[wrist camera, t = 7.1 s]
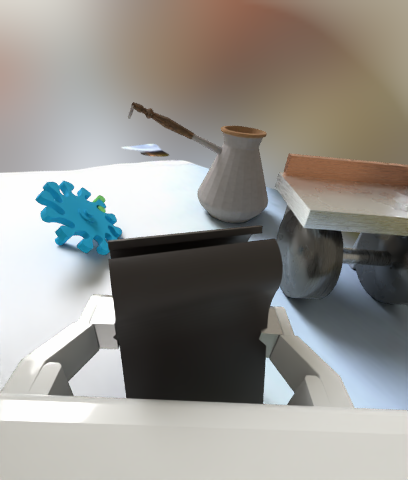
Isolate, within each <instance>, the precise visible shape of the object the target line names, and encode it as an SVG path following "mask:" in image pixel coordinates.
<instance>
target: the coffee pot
mask: <svg viewBox="0 0 408 480" xmlns="http://www.w3.org/2000/svg"><path fill="white" fill-rule="evenodd" d="M133 109H135V110H137V111H138V112H142V113H144V114H145V115H146V117H147V118H153V119H154V120H155V121H157V122H158V123H159V124H161V125H162V126H164V127H165V128H167V129H170V130H172V131H174V132H176V133H178V134H181V135H183V136H185V137H187V138H189V139H193V140H194V141H196V142H198V143H200V144H201V145H203V146H205V147H207V148H208V149H210V150H212V151H214V152H216V153H218V155H217V157H216V159H215V160H214V162H213V164H212V166H211V168H210V169H209V171H208V173H207V175H206V177H205V178H204V180H203V182H202V184H201V186H200V188H199V189H198V199H199V201H200V203H201V205H202V206H203V207H204V209H206V210H207V211H208V213H209V214H210V215H211V216H212V217H214V218H216V219H218V220H221V221H225V222H231V223H242V222H246V221H248V220H250V219H251V218H253V217H256V216H257V215H259V214H261V212H262V211H263V210H264V209H265V208H266V207H267V204H268V197H267V192H266V186H265V181H264V175H263V169H262V164H261V158H260V153H259V145H260V143H261V140H262V138H263V137H265V136H266V132H264V131H262V130H258V129H254V128H248V127H242V126H223V127H221V131H222V132H223V136H224V144H223V146H222V148H221V147H219V146H216V145H215V144H213V143H211V142H209V141H207V140H205V139H203V138H201V137H199V136H197V135H195V134H194V133H192V132H191V131H189V130H188V129H186V128H184V127H183V126H181V125H179V124H178V123H176V122H174V121H173V120H171V119H169V118H168V117H164V116H162V115H159V114H157V113H154V112H153V110H152V109H151V108H150V109H146V108H144V107H143V106H142V105H140V104H137V103H134V102H133V103H132V107H131V110H130V113H129V116H128V118H129V119H130V117H131V115H132V112H133Z"/></svg>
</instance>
